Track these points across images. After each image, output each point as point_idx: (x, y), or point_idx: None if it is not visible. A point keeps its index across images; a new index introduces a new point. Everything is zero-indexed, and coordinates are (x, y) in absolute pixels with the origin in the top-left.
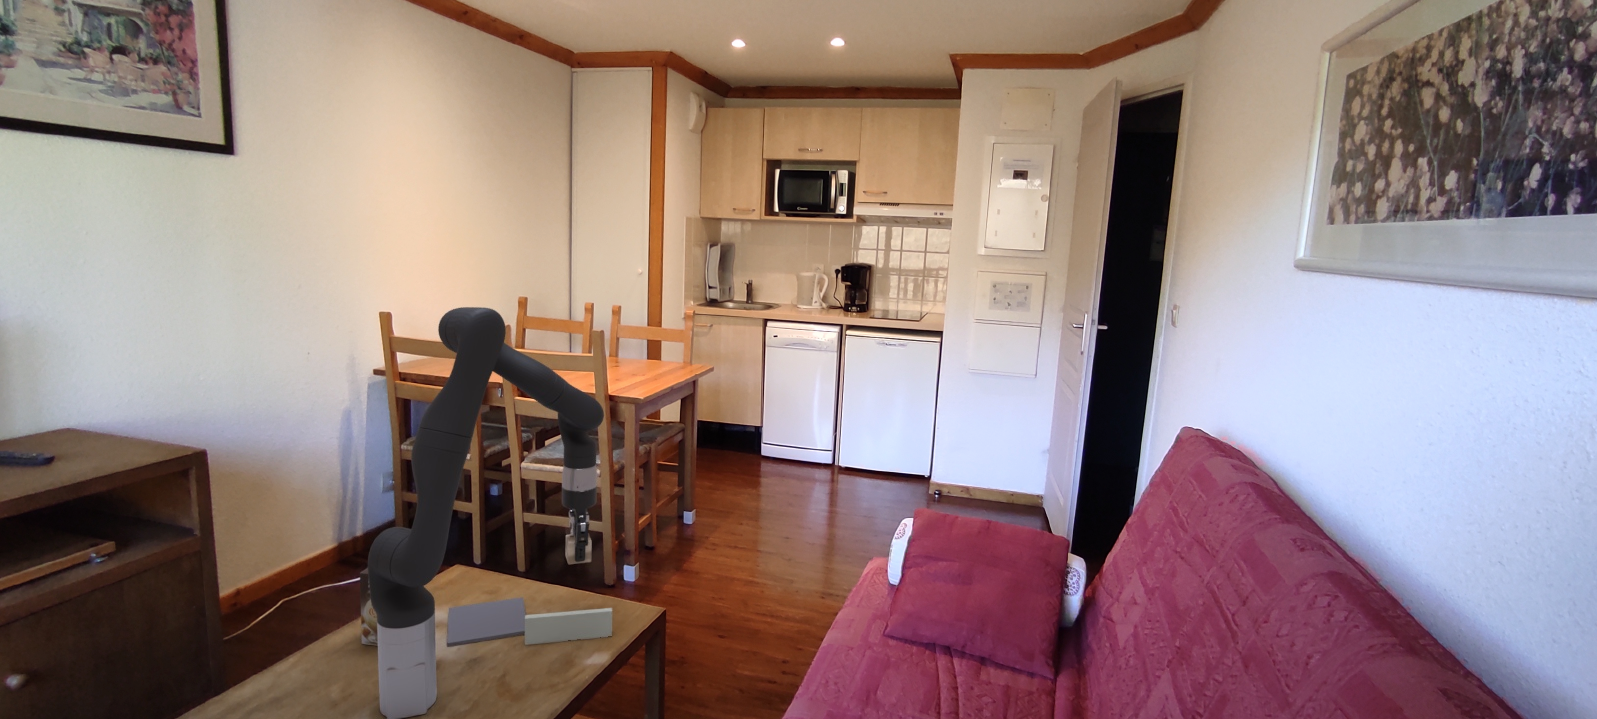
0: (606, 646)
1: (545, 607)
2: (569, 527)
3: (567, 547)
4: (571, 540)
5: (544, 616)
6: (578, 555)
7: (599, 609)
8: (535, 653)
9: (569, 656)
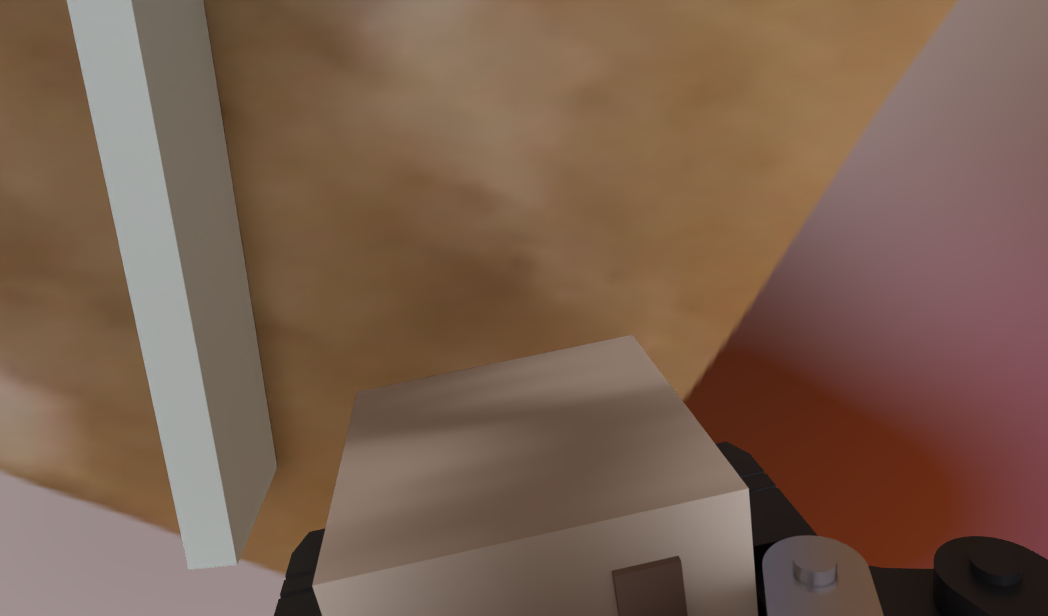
0: (130, 450)
1: (634, 71)
2: (1004, 550)
3: (460, 469)
4: (451, 611)
5: (102, 111)
6: (286, 593)
7: (215, 492)
8: (42, 57)
9: (14, 266)
